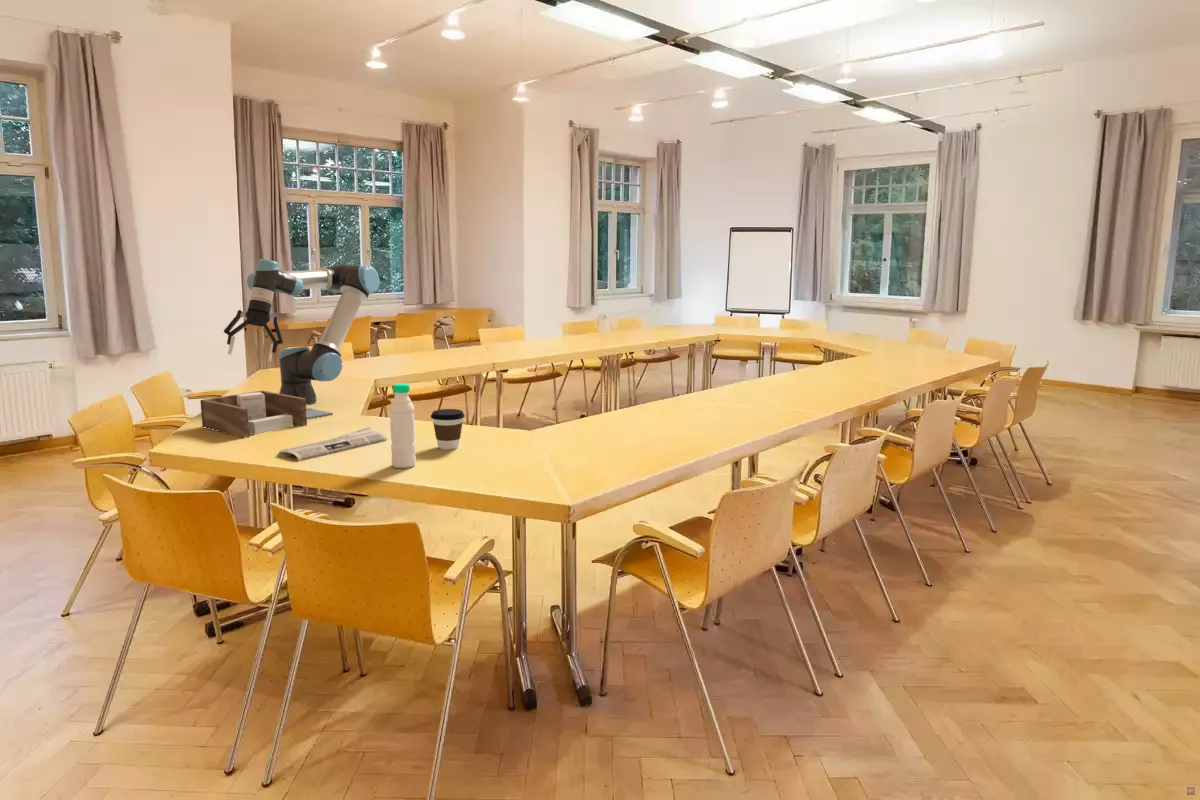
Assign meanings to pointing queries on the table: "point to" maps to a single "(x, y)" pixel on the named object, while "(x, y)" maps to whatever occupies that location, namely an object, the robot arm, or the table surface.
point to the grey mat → (316, 413)
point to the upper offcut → (270, 421)
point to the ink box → (253, 404)
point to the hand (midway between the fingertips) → (249, 357)
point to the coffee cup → (447, 427)
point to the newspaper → (334, 444)
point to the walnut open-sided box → (235, 419)
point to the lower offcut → (271, 428)
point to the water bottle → (402, 428)
